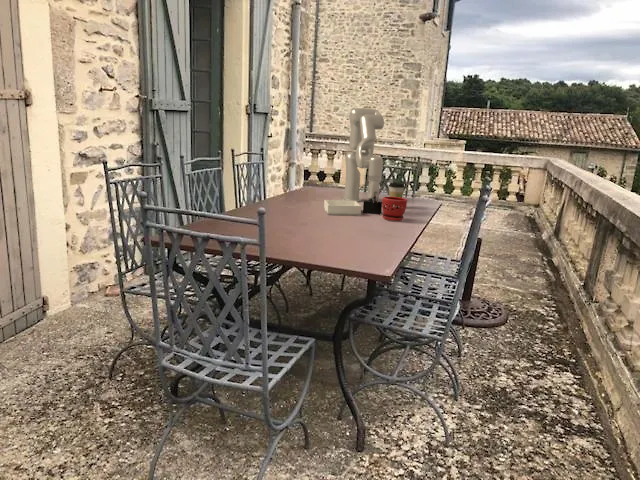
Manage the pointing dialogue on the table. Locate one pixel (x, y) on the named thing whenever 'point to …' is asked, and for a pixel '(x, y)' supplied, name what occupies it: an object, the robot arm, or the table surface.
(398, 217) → the plant pot
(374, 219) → the table surface
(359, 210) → the box
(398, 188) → the coffee cup
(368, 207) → the digital camera
